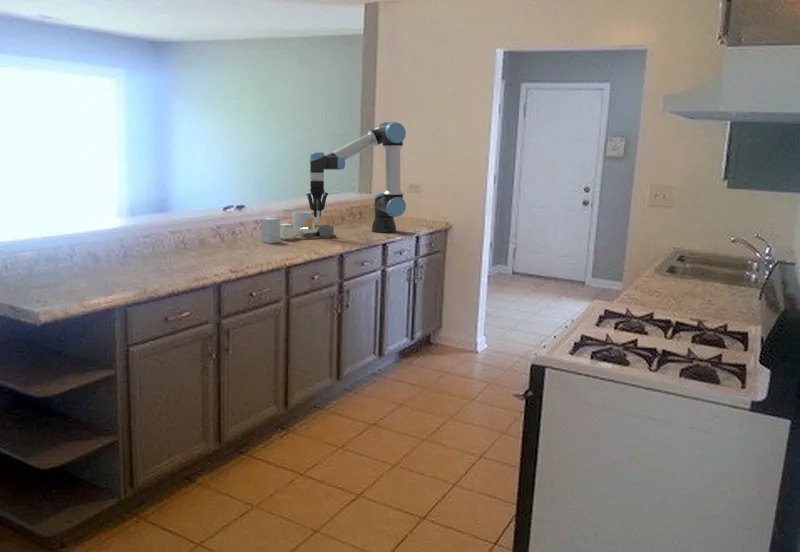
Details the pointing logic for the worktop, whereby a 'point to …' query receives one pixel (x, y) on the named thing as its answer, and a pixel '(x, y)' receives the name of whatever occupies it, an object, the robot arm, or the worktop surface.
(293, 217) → the mug
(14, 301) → the worktop surface
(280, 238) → the rail board
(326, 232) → the sleeve
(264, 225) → the supplement box
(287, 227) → the socket
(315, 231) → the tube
